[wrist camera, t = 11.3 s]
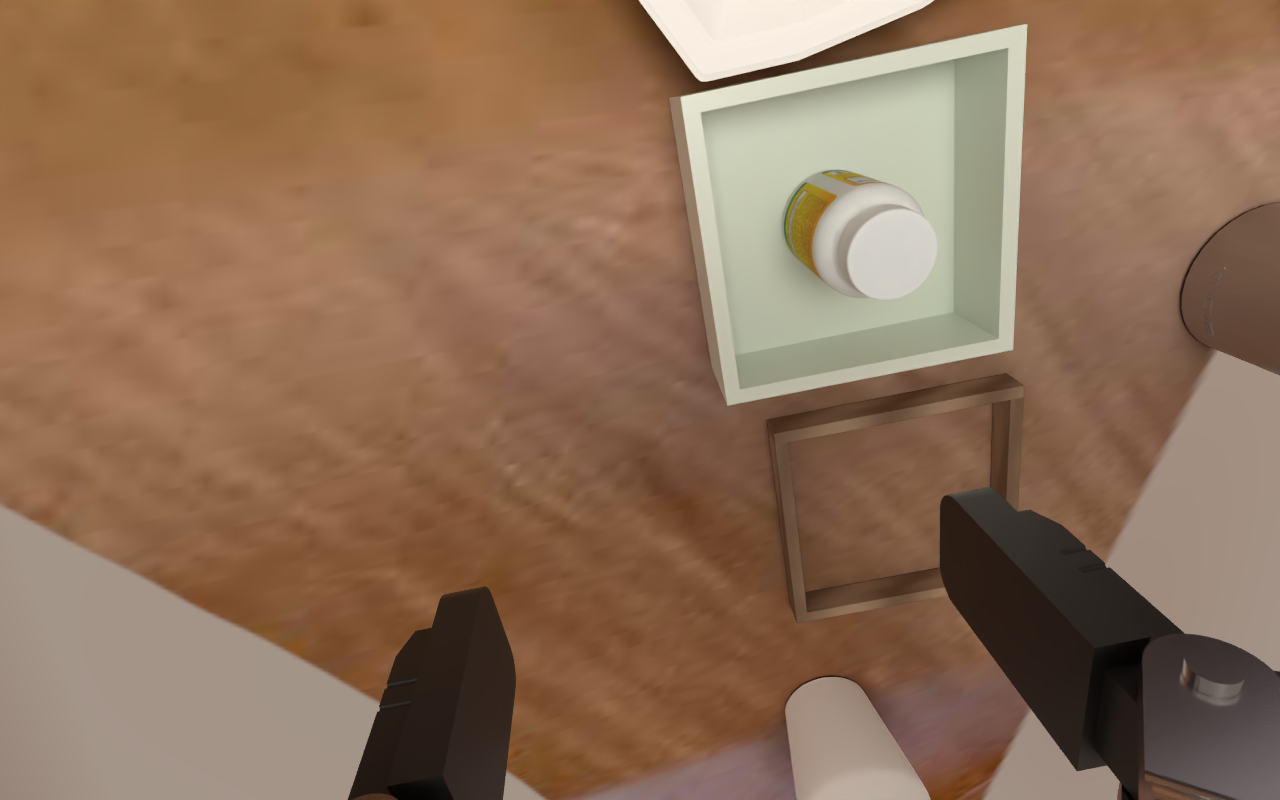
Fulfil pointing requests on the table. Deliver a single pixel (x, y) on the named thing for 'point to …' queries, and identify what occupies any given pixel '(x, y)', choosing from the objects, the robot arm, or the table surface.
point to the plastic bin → (873, 147)
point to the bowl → (764, 29)
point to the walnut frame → (872, 413)
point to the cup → (845, 746)
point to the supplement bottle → (860, 235)
